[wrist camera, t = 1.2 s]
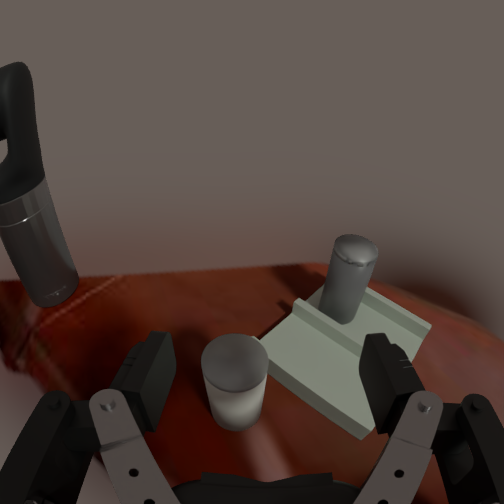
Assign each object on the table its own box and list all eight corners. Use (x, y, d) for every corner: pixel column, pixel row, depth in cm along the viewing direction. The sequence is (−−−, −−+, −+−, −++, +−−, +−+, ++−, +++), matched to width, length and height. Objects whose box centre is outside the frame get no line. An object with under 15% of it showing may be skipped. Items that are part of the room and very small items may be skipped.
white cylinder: (201, 408, 27) (187, 358, 21) (236, 380, 30) (235, 323, 24) (235, 440, 25) (234, 402, 18) (271, 409, 27) (282, 359, 21)
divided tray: (246, 355, 33) (246, 340, 31) (329, 283, 43) (333, 267, 41) (360, 440, 24) (371, 431, 22) (422, 339, 34) (431, 325, 32)
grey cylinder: (310, 310, 37) (326, 247, 31) (331, 290, 40) (348, 229, 34) (343, 331, 34) (366, 269, 28) (362, 308, 37) (385, 248, 31)
